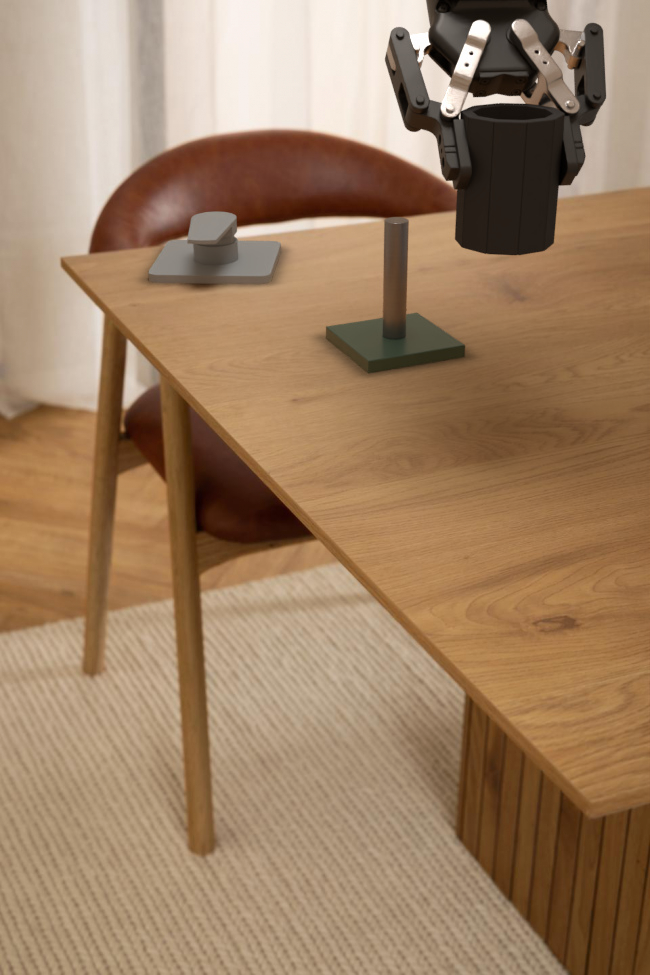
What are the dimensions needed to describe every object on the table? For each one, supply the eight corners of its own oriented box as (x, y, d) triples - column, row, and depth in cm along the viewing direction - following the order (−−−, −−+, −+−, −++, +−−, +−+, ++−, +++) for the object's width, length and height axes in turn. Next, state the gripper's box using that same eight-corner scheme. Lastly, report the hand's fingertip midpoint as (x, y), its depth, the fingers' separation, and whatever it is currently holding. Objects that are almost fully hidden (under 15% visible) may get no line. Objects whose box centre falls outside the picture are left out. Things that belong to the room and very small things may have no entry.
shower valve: (137, 237, 114) (165, 198, 127) (141, 292, 116) (169, 248, 129) (265, 238, 113) (280, 199, 126) (267, 293, 115) (282, 249, 129)
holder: (416, 324, 107) (420, 201, 102) (464, 358, 100) (471, 227, 95) (325, 339, 104) (324, 213, 99) (368, 374, 97) (369, 240, 92)
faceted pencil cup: (535, 226, 79) (544, 101, 75) (564, 253, 73) (576, 120, 69) (446, 230, 78) (452, 104, 74) (470, 258, 72) (477, 123, 69)
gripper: (376, -89, 72) (410, 150, 67) (602, -92, 74) (651, 141, 69) (361, -4, 79) (391, 217, 75) (568, -8, 81) (610, 208, 76)
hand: (516, 179), depth 72 cm, fingers closed on faceted pencil cup, 6 cm apart
